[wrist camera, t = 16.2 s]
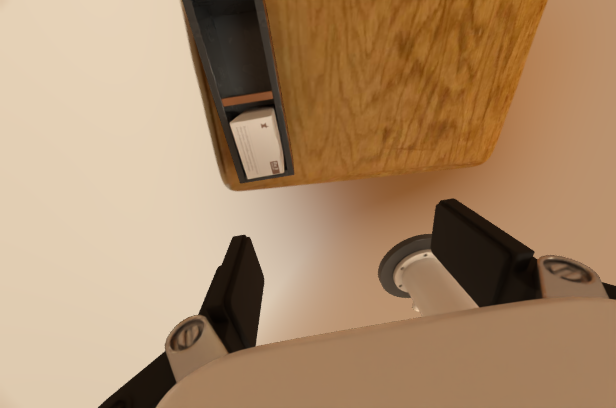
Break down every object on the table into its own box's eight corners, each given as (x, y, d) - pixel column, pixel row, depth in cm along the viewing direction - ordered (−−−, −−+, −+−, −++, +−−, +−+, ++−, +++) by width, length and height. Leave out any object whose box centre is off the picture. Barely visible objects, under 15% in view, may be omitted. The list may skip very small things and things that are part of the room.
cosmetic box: (245, 108, 31) (223, 120, 20) (276, 102, 31) (271, 111, 20) (257, 151, 34) (243, 181, 23) (285, 146, 34) (285, 173, 23)
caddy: (292, 157, 35) (294, 174, 29) (249, 164, 35) (240, 183, 29) (265, 2, 26) (257, -27, 19) (206, 12, 26) (177, -14, 19)
